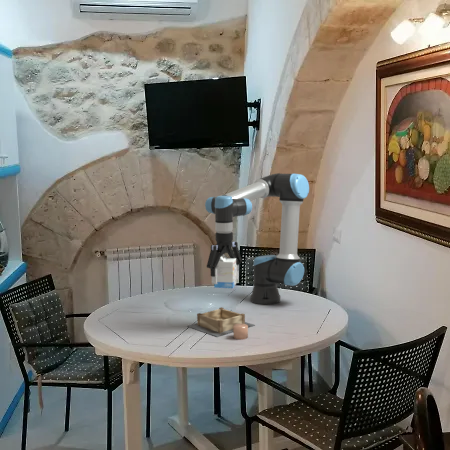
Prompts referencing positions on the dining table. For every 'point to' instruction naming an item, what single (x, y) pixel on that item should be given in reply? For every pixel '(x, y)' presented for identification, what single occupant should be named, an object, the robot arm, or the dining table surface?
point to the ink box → (226, 272)
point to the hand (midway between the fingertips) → (224, 281)
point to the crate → (218, 322)
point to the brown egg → (240, 331)
